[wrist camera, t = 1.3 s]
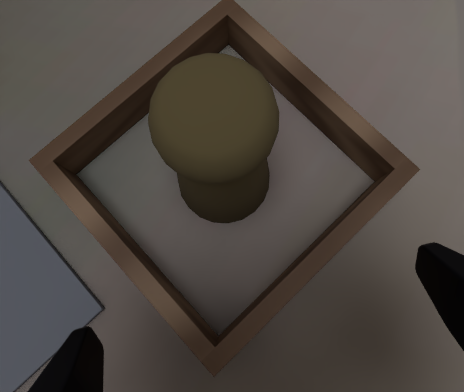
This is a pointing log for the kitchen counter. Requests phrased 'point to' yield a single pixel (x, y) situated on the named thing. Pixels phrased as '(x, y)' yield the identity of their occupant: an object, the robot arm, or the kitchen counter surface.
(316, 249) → the walnut frame
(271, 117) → the cork
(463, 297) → the robot arm
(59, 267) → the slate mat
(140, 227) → the kitchen counter surface
